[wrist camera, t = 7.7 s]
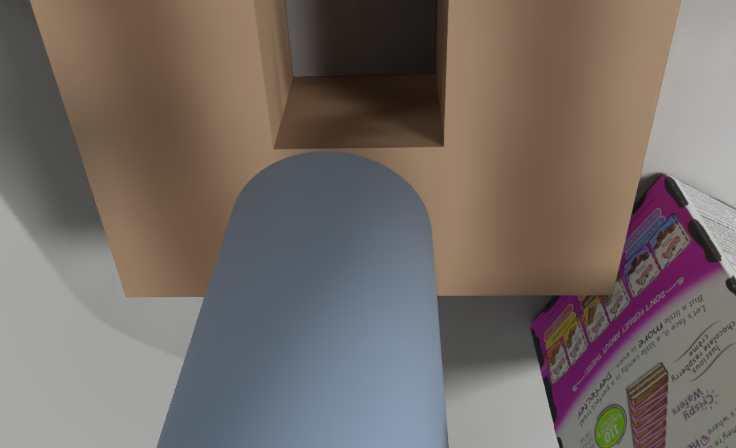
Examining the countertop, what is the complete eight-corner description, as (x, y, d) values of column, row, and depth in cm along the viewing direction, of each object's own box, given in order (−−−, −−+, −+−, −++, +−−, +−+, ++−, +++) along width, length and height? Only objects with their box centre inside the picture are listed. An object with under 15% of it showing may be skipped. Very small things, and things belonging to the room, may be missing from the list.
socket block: (677, -330, 21) (760, -341, 16) (581, 209, 33) (612, 295, 28) (32, -301, 22) (-69, -303, 17) (164, 213, 34) (125, 297, 29)
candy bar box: (602, 353, 39) (709, 686, 26) (526, 323, 38) (597, 656, 24) (750, 207, 33) (989, 544, 20) (664, 165, 32) (858, 496, 18)
